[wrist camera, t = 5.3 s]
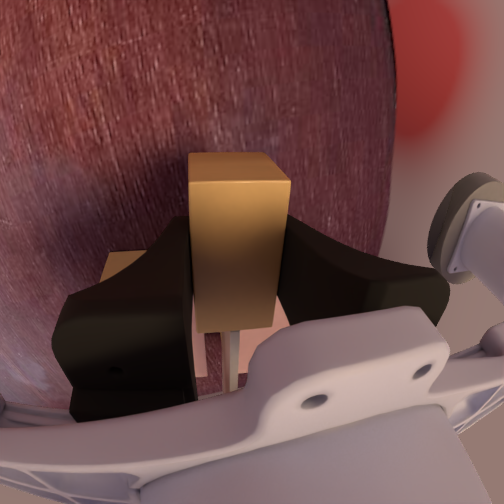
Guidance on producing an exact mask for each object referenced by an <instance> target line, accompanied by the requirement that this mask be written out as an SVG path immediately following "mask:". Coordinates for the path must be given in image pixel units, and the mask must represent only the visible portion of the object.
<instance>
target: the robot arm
mask: <svg viewBox="0 0 504 504" xmlns="http://www.w3.org/2000/svg"><path fill="white" fill-rule="evenodd" d="M447 271H448V272H449V273H457V272H463V271H471V272H472V273H473V274H474V275H475V276H476V277H477V278H478V279H479V280H480V281H481V282H482V283H483V284H484V285H485V286H486V287H487V288H488V289H489V290H490V291H491V292H492V293H493V294H494V295H495V296H496V297H497V299H498V300H499V301H500V302H501V303H502V304H503V305H504V202H498V201H490V200H481V199H473V200H472V201H471V203H470V207H469V210H468V213H467V216H466V219H465V222H464V225H463V228H462V231H461V234H460V236H459V239H458V242H457V245H456V247H455V250H454V252H453V255H452V258H451V260H450V263H449V265H448V268H447ZM277 296H278V299H279V301H280V303H281V306H282V308H283V310H284V312H285V315H286V317H287V319H288V322H289V325H290V326H288V327H285V328H281V329H279V330H278V331H277V332H275V333H274V334H272V335H271V336H270V337H268V338H267V339H266V340H264V341H263V342H261V343H260V344H259V345H258V346H257V347H256V349H255V351H254V353H253V355H252V357H251V359H250V361H249V364H248V375H247V382H246V385H245V387H244V388H241V389H238V390H235V391H231V392H228V393H224V394H221V395H217V396H214V397H210V398H206V399H202V400H198V396H197V387H196V377H195V367H194V356H193V344H192V309H193V281H192V265H191V247H190V225H189V216H175V217H174V218H173V219H172V220H171V221H170V223H169V224H168V226H167V227H166V228H165V230H164V231H163V232H162V234H161V235H160V236H159V237H158V239H157V240H156V241H155V242H154V243H153V244H152V245H151V247H150V248H149V249H148V250H147V251H146V252H145V253H144V254H143V255H141V256H140V257H139V258H138V259H137V260H135V261H134V262H133V263H131V264H130V265H129V266H127V267H126V268H124V269H123V270H121V271H120V272H118V273H117V274H115V275H113V276H111V277H110V278H108V279H106V280H104V281H102V282H100V283H98V284H96V285H94V286H92V287H89V288H87V289H84V290H82V291H79V292H76V293H74V294H71V295H68V297H67V300H66V302H65V304H64V306H63V308H62V310H61V313H60V315H59V318H58V321H57V324H56V327H55V330H54V332H53V335H52V350H53V353H54V355H55V358H56V359H57V361H58V363H59V365H60V367H61V368H62V370H63V372H64V373H65V375H66V377H67V378H68V380H69V382H70V383H71V385H72V386H73V391H72V396H71V402H70V408H69V410H66V409H56V408H48V407H40V406H33V405H26V404H20V403H14V402H8V401H5V400H4V398H3V397H2V395H1V394H0V484H2V485H5V486H8V487H11V488H14V489H17V490H20V491H23V492H26V493H29V494H33V495H36V496H39V497H43V498H46V499H50V500H53V501H57V502H61V503H65V504H492V502H491V500H490V497H489V495H488V493H487V491H486V489H485V487H484V485H483V483H482V481H481V479H480V477H479V475H478V473H477V471H476V469H475V467H474V465H473V463H472V461H471V459H470V457H469V456H468V454H467V452H466V450H465V448H464V446H463V445H462V443H461V441H460V439H459V437H458V434H460V433H461V432H463V431H464V430H466V429H467V428H469V427H470V426H472V425H473V424H474V423H476V422H477V421H479V420H480V419H482V418H483V417H485V416H486V415H487V414H489V413H490V412H491V411H493V410H494V409H496V408H497V407H498V406H500V405H501V404H503V403H504V322H502V323H499V324H497V325H495V326H492V327H491V328H490V329H488V330H487V331H486V333H485V334H484V336H483V337H482V339H481V341H480V343H479V344H477V345H475V346H473V347H470V348H468V349H466V350H463V351H461V352H458V353H456V354H453V355H451V356H449V355H450V348H449V346H448V344H447V342H446V340H445V339H444V338H443V336H442V335H441V334H440V332H439V331H438V330H437V329H436V326H437V324H438V322H439V320H440V318H441V316H442V314H443V312H444V310H445V309H446V306H447V304H448V301H449V296H450V286H449V283H448V282H447V280H446V279H445V278H444V277H443V276H442V275H441V274H440V273H439V272H438V271H437V270H436V269H434V268H428V267H421V266H414V265H408V264H403V263H399V262H394V261H390V260H386V259H383V258H379V257H376V256H373V255H370V254H367V253H364V252H361V251H358V250H356V249H354V248H351V247H349V246H346V245H344V244H342V243H340V242H337V241H335V240H334V239H332V238H330V237H328V236H326V235H324V234H322V233H320V232H318V231H316V230H315V229H313V228H311V227H309V226H308V225H306V224H304V223H303V222H301V221H299V220H297V219H296V218H294V217H292V216H290V215H288V214H287V221H286V229H285V237H284V245H283V253H282V261H281V268H280V276H279V283H278V290H277Z"/></svg>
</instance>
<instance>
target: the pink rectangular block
mask: <svg viewBox="0 0 504 504" xmlns="http://www.w3.org/2000/svg"><path fill="white" fill-rule="evenodd" d="M146 251H147V250H140V251H122V252H110V253H109V255H108V258H107V261H106V264H105V267H104V270H103V273H102V276H101V279H100V282H102V281H104V280H106V279H108V278H110V277H111V276H113V275H115V274H117V273H118V272H120V271H121V270H123V269H124V268H126V267H127V266H129V265H130V264H131V263H133V262H134V261H135V260H137V259H138V258H139V257H140V256H141V255H143V254H144V253H145V252H146ZM100 282H99V283H100ZM192 344H193V356H194V367H195V377H205V376H207V364H206V352H205V338H204V333H199V334H198V333H197V332H196V321H195V309H194V296H193V309H192Z"/></svg>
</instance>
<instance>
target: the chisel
mask: <svg viewBox="0 0 504 504" xmlns="http://www.w3.org/2000/svg"><path fill="white" fill-rule="evenodd" d="M290 187H291V181H290V179H289V178H288V177H287V176H286V175H285V174H284V173H283V172H282V171H281V170H280V169H279V168H278V166H277V165H276V164H275V163H274V162H273V161H272V160H271V159H270V158H269V157H268V156H267V155H266V154H265V153H264V152H208V153H189V154H188V195H189V225H190V247H191V265H192V281H193V296H194V309H195V321H196V332H197V333H198V334H199V333H213V332H222V384H223V394H224V393H228V392H231V391H235V390H237V387H238V365H239V344H240V330H249V329H259V328H268V327H272V326H273V319H274V312H275V305H276V298H277V290H278V283H279V276H280V268H281V261H282V253H283V245H284V237H285V229H286V221H287V213H288V204H289V196H290Z"/></svg>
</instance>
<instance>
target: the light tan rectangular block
mask: <svg viewBox="0 0 504 504" xmlns="http://www.w3.org/2000/svg"><path fill="white" fill-rule="evenodd" d="M288 326H290V325H289V322H288V319H287V317H286V315H285V312H284V310H283V308H282V306H281V303H280V301H279V299H278V296H277V298H276V305H275V312H274V319H273V326H272V327H268V328H259V329H249V330H240V344H239V365H238V373H247V372H248V364H249V361H250V359H251V357H252V355H253V353H254V351H255V349H256V347H257V346H258V345H259V344H260V343H261V342H263V341H264V340H266V339H267V338H268V337H270V336H271V335H272V334H274V333H275V332H277V331H278V330H279V329H281V328H285V327H288ZM220 335H221V341H222V332H220Z"/></svg>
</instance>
